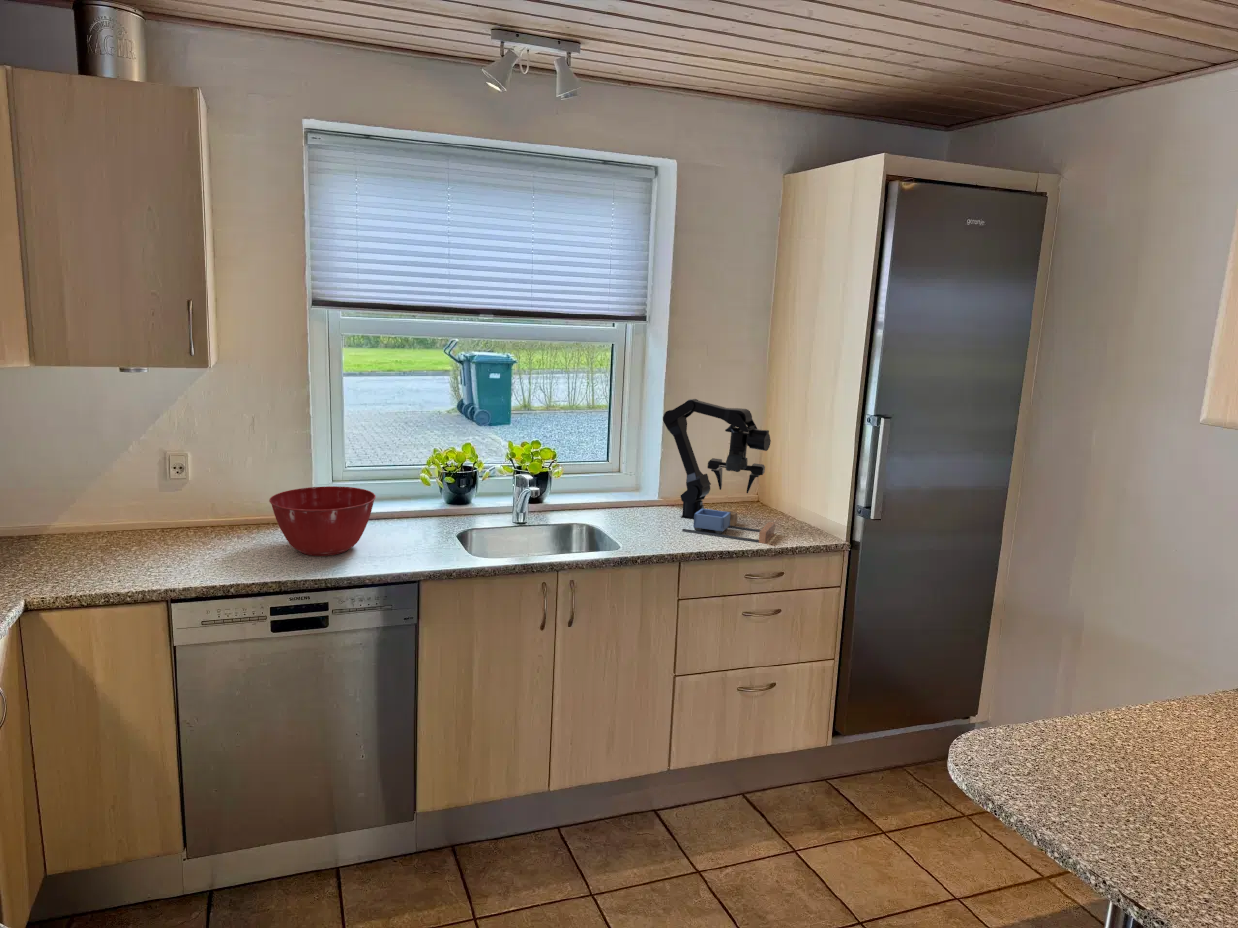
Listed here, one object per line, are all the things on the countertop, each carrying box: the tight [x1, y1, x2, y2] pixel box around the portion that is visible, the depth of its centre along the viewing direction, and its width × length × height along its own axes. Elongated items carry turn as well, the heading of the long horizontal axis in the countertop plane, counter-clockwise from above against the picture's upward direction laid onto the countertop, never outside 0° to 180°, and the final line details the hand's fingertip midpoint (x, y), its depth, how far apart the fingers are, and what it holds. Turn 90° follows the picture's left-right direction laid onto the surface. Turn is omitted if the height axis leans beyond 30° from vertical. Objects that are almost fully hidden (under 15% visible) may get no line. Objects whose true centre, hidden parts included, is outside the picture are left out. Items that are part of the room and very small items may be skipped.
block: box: [724, 510, 738, 526], centre depth 298 cm, size 4×4×4 cm
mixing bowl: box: [268, 485, 377, 557], centre depth 246 cm, size 28×28×15 cm
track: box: [681, 521, 776, 544], centre depth 286 cm, size 28×14×4 cm, turn 68°
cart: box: [692, 508, 731, 534], centre depth 288 cm, size 10×9×6 cm
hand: (733, 491), depth 296 cm, fingers open, 9 cm apart
